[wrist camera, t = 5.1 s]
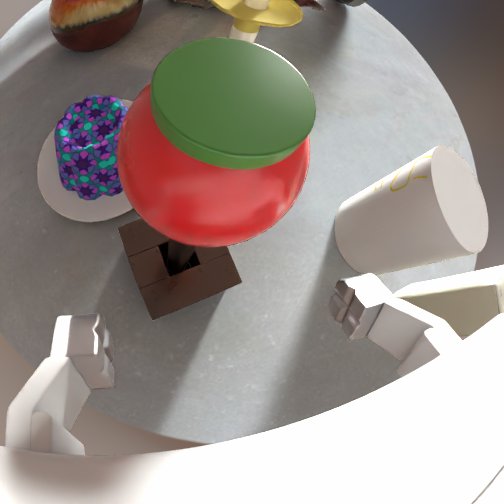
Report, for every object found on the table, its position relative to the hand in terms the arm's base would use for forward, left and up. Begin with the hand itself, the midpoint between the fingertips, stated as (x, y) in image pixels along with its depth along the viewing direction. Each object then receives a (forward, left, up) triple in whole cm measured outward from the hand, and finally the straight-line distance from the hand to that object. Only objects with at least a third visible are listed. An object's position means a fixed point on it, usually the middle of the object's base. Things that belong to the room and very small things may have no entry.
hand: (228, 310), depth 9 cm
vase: (+33, +1, -13) cm, 36 cm away
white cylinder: (-1, -18, -13) cm, 22 cm away
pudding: (+14, +3, -13) cm, 19 cm away
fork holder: (+3, 0, -13) cm, 13 cm away
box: (-9, -19, -13) cm, 25 cm away
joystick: (+3, 0, -13) cm, 13 cm away
